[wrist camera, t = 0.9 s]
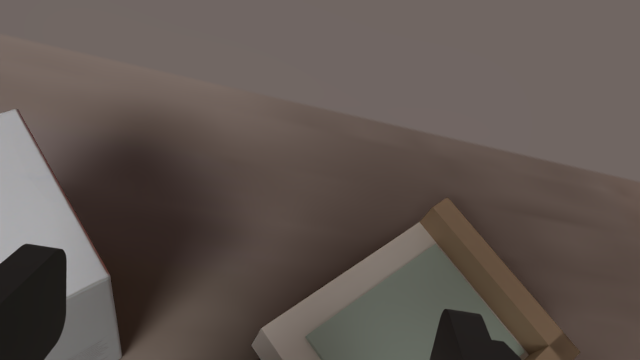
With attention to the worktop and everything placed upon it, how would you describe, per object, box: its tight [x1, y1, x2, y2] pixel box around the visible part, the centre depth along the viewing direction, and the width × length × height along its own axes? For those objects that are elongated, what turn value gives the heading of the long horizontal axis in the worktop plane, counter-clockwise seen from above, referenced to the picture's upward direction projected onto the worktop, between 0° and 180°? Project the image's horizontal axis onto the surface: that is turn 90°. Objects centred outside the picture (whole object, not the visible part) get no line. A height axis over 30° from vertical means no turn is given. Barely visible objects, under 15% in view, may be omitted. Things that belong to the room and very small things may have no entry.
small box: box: [0, 109, 122, 360], centre depth 24 cm, size 8×6×10 cm
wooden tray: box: [251, 197, 580, 360], centre depth 30 cm, size 10×12×5 cm
